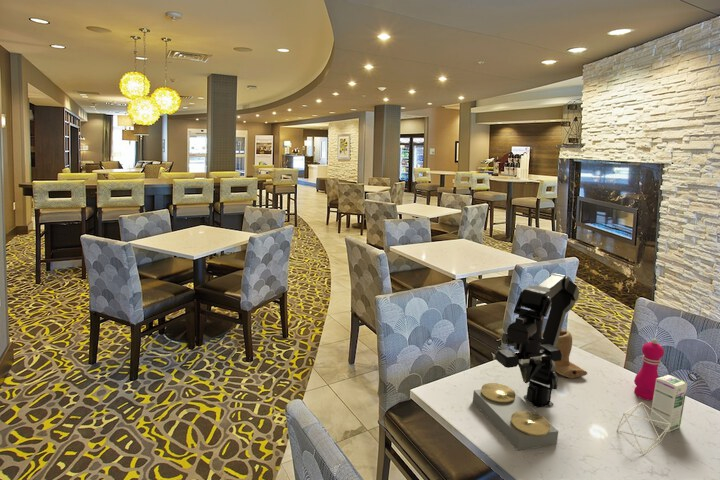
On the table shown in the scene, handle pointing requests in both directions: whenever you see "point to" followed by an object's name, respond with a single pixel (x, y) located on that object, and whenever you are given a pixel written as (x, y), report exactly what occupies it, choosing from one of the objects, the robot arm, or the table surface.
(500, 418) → the panel
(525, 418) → the knob
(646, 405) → the geometric polyhedron
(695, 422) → the table surface
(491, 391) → the knob
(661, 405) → the syrup box
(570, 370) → the tan boot
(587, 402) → the table surface
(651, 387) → the pepper mill
